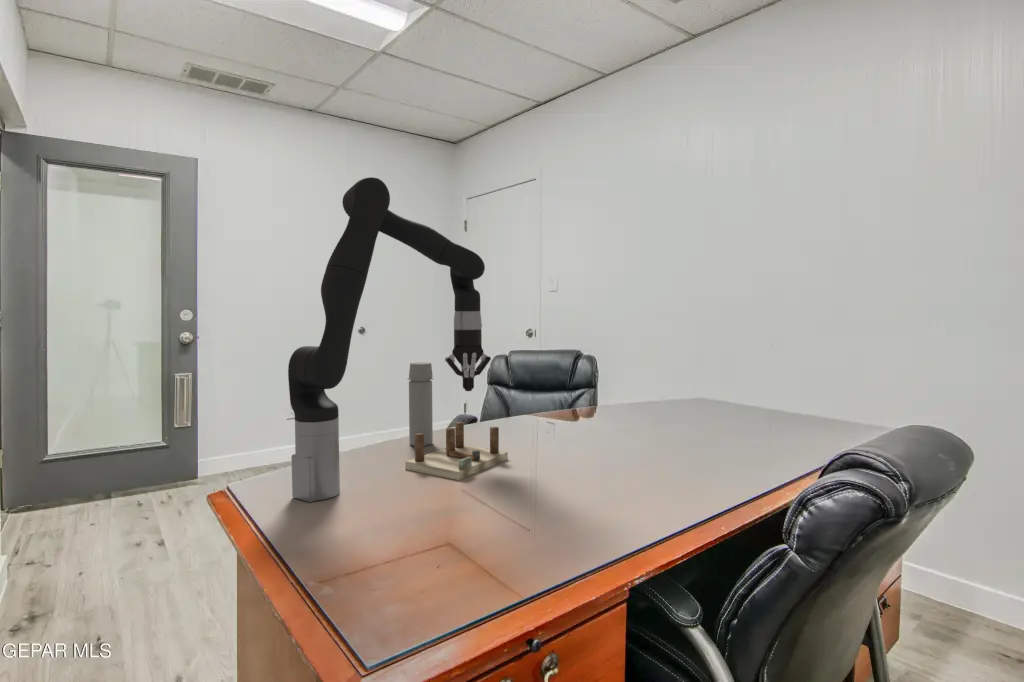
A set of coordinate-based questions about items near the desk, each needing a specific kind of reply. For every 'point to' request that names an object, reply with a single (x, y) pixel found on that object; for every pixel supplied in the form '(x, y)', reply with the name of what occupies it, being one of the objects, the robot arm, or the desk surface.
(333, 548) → the desk surface
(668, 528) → the desk surface
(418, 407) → the water bottle
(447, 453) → the swing leg
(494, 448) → the stool frame
